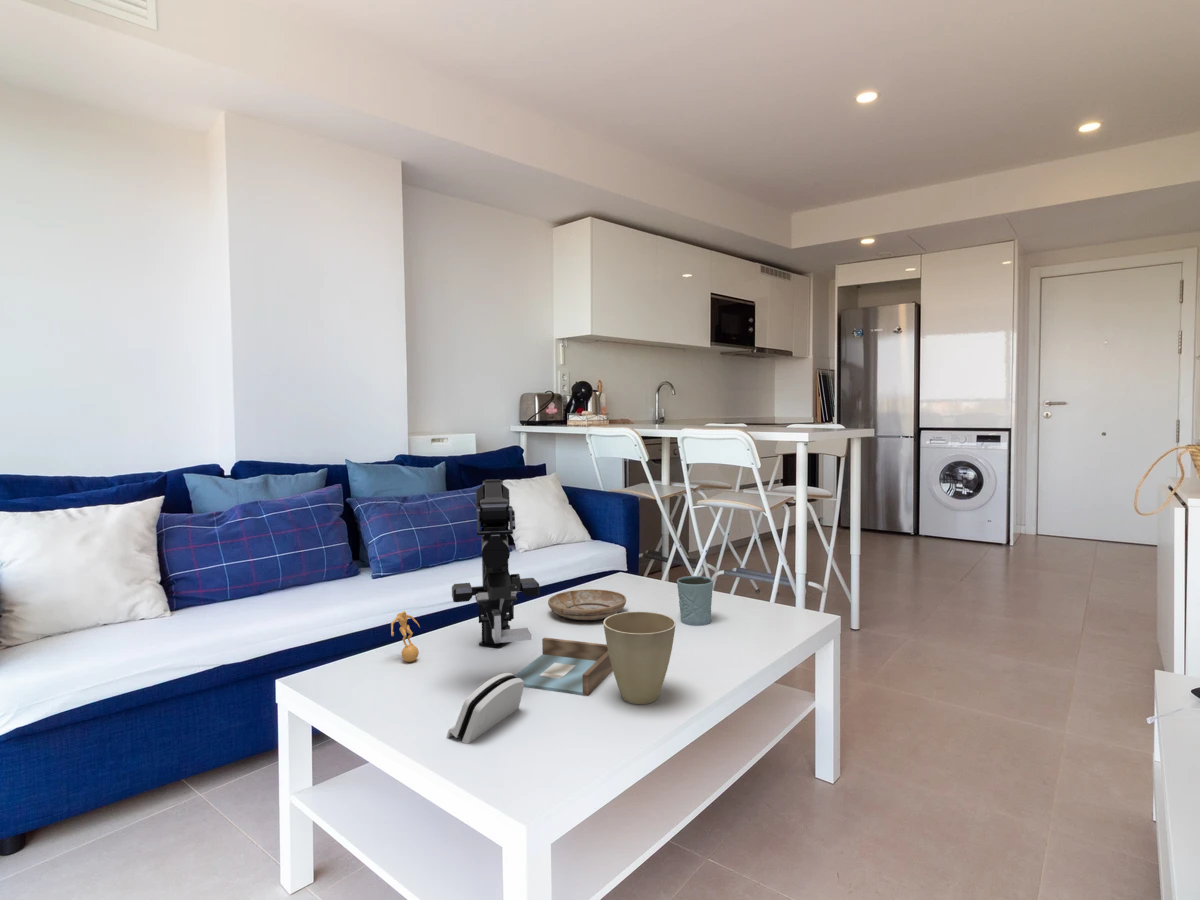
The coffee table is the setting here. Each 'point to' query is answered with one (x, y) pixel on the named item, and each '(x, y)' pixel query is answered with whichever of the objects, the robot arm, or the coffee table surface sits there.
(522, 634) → the aluminium bracket
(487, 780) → the coffee table surface
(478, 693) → the grey arched casing
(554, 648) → the corner arena
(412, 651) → the figurine
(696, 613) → the embossed green cup
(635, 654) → the plant pot
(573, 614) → the ceramic bowl
